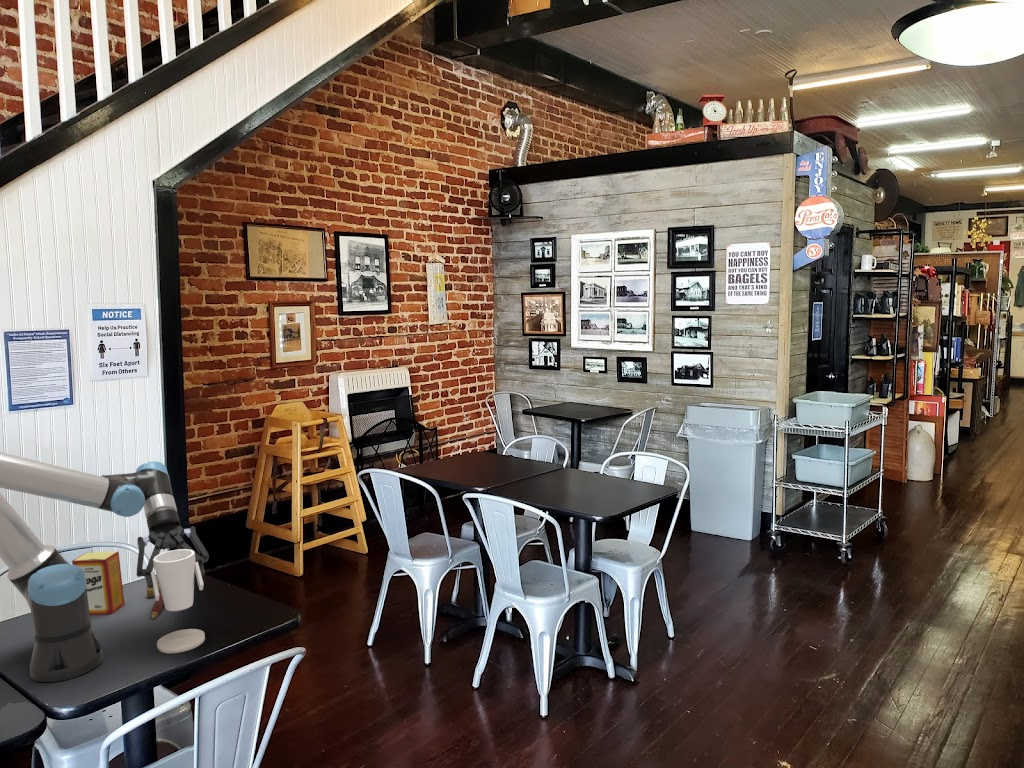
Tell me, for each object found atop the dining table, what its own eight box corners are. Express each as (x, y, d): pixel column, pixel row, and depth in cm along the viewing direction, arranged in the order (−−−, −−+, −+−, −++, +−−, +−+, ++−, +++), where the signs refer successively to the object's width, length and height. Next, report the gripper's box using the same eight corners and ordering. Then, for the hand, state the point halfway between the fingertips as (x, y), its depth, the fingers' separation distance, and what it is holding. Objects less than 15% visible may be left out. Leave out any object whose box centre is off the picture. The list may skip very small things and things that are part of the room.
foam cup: (207, 601, 196) (202, 551, 195) (178, 616, 188) (173, 564, 186) (180, 596, 200) (175, 547, 199) (150, 610, 192) (144, 560, 190)
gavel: (172, 607, 211) (132, 612, 209) (173, 622, 212) (134, 627, 210) (185, 575, 231) (149, 579, 229) (186, 589, 232) (150, 593, 230)
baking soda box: (78, 615, 216) (71, 559, 214) (92, 605, 222) (85, 551, 220) (112, 614, 216) (105, 558, 214) (124, 604, 222) (118, 550, 220)
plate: (177, 656, 188) (176, 652, 188) (147, 648, 193) (147, 643, 193) (214, 638, 197) (214, 633, 197) (185, 630, 203) (184, 626, 202)
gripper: (205, 514, 211) (225, 588, 200) (114, 532, 199) (130, 611, 188) (207, 499, 206) (228, 574, 194) (114, 516, 194) (130, 597, 183)
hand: (179, 592), depth 191 cm, fingers closed on foam cup, 9 cm apart
